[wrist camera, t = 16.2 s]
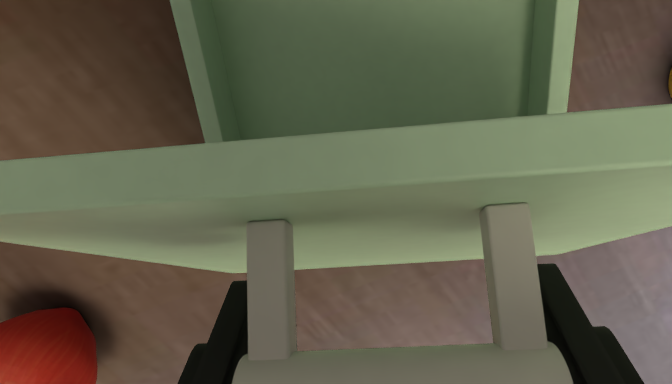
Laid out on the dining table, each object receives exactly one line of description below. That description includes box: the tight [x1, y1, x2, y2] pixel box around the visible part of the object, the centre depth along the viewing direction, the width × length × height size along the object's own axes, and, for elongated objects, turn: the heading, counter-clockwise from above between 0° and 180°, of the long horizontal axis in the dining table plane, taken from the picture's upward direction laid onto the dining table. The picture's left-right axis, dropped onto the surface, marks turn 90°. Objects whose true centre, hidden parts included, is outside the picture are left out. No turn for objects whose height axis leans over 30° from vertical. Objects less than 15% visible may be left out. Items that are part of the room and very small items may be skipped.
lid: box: [0, 104, 672, 384], centre depth 14 cm, size 16×15×5 cm
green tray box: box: [170, 0, 579, 143], centre depth 21 cm, size 16×15×3 cm
